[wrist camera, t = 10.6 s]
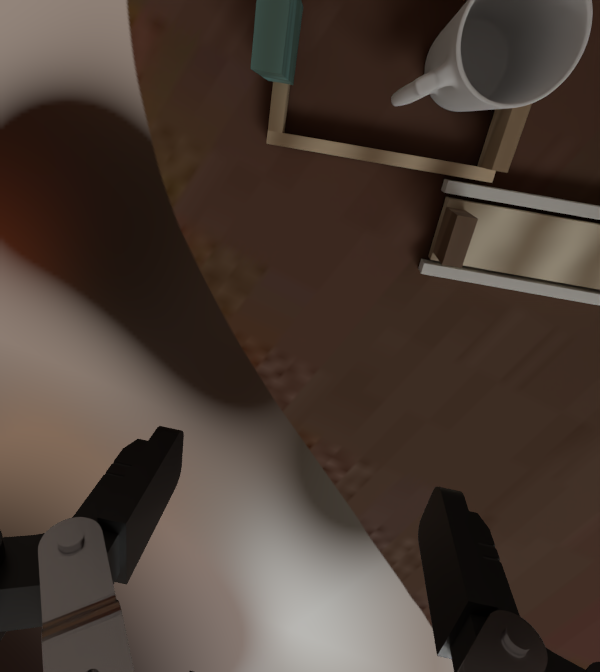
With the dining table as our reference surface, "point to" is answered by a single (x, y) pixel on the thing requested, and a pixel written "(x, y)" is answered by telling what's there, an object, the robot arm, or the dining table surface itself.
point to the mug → (502, 54)
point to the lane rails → (507, 279)
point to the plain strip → (517, 243)
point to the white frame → (279, 66)
